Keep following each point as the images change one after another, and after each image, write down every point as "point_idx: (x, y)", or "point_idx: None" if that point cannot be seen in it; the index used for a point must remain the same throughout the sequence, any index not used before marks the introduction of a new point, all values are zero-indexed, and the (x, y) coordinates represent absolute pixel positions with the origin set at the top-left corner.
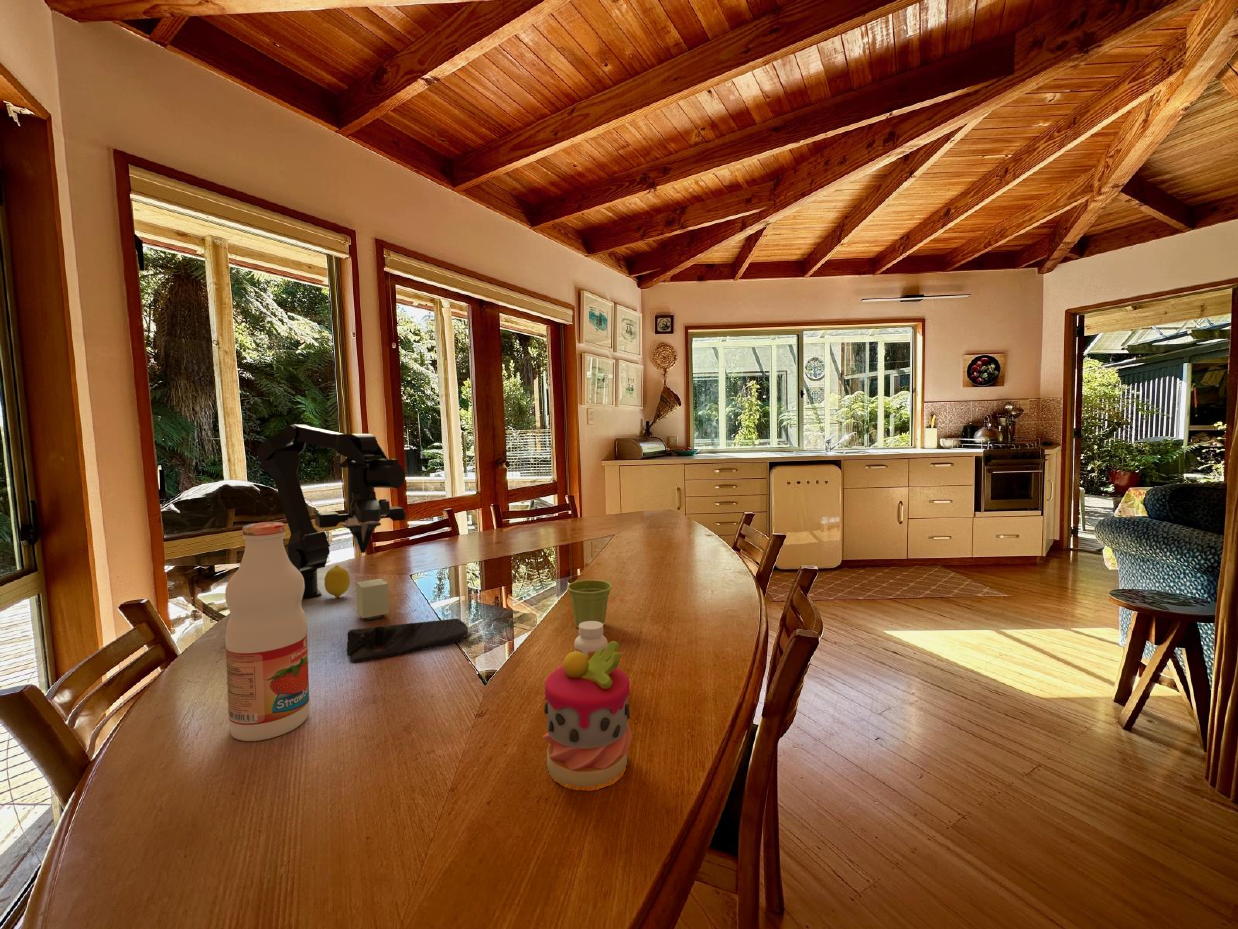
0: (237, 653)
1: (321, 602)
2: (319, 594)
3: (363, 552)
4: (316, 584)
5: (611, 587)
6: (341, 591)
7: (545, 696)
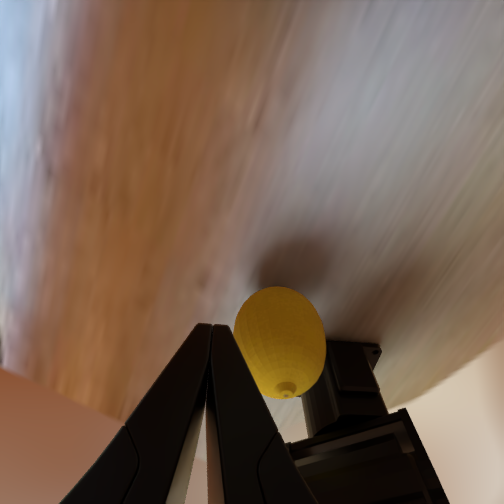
0: None
1: (331, 281)
2: None
3: (211, 324)
4: None
5: None
6: (275, 287)
7: None
